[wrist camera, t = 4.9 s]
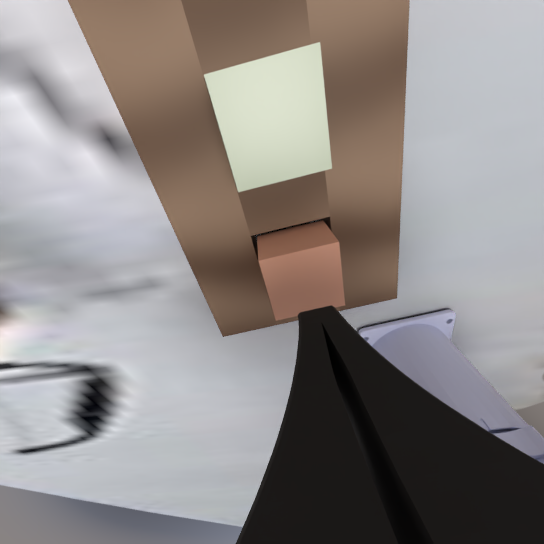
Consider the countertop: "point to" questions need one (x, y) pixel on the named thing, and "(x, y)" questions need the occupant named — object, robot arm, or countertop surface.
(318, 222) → the terracotta button
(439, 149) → the countertop surface
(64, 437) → the countertop surface
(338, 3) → the button panel
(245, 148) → the sage button
